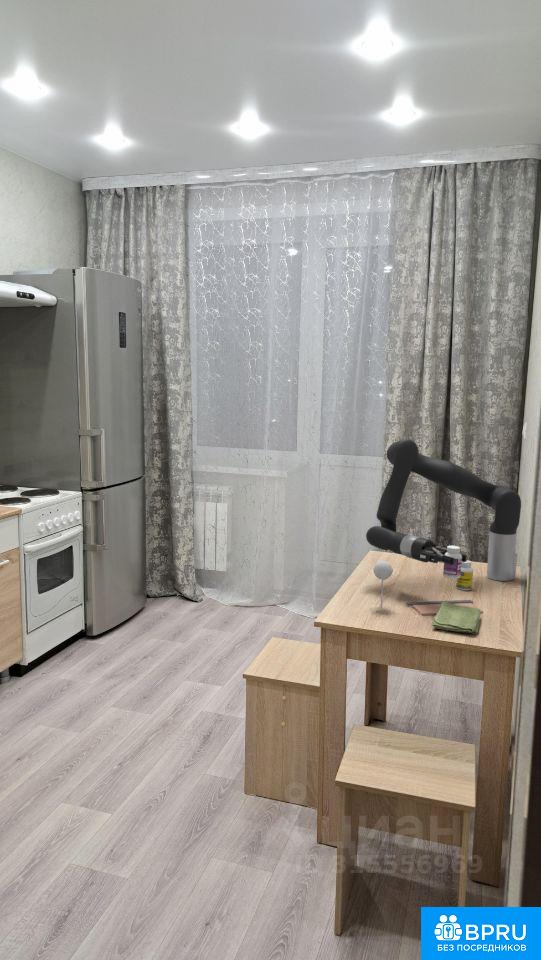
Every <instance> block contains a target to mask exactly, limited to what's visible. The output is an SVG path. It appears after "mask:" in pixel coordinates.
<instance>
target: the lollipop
mask: <svg viewBox="0 0 541 960" xmlns="http://www.w3.org/2000/svg"><path fill="white" fill-rule="evenodd" d="M372 570H373V574H374V576H375V577H376V578H378V579H379V580H381V591H380V592H381V594H380V595H381V596H380V607H381V608H383V600H384V599H383V596H384V595H383V594H384V580H387V579H389V578H391V576H392V575H393V571H394V568H393V566H392V564H391V563H390V562H388V561H386V560H379V561H378V562H376V563H375V565H374V566H373V569H372Z"/></svg>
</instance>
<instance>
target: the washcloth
mask: <svg viewBox="0 0 541 960" xmlns="http://www.w3.org/2000/svg"><path fill="white" fill-rule="evenodd" d="M478 608H479V607H478ZM478 608H473V607H467V606H459V605H455V604H451V603H446V602H442V603H441V605H440V607H439V610H438V612H437V615H434V618H433V620H432V623H431V626H432V627H434V629H439V630H443V631H451V632H458V633H467V634H468V633H469V634H473V635H477V633H479V627H480V620H481V618H480V617H481V613H480V608H479V609H478Z"/></svg>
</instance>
